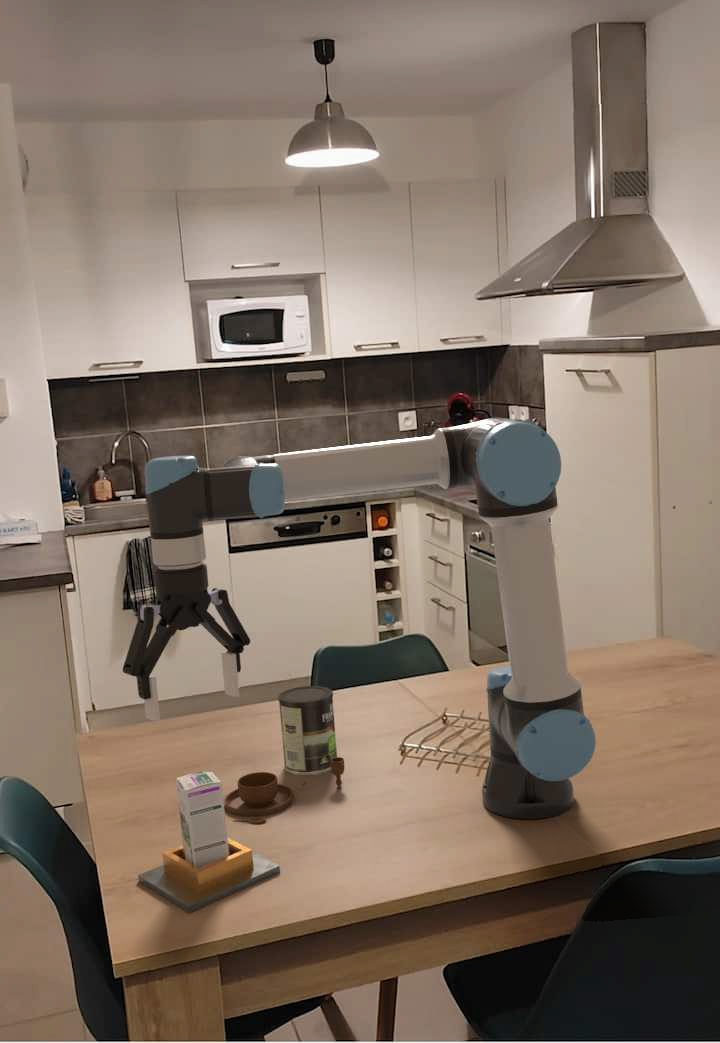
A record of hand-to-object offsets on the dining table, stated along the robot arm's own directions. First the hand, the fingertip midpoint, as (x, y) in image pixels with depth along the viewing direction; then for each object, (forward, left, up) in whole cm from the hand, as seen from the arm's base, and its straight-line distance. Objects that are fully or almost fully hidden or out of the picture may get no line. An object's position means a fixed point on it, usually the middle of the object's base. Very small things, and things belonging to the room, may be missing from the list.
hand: (193, 707), depth 156 cm
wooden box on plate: (0, 0, -26) cm, 27 cm away
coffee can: (+23, -38, -27) cm, 52 cm away
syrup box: (0, 0, -26) cm, 26 cm away
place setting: (+13, -24, -27) cm, 39 cm away
